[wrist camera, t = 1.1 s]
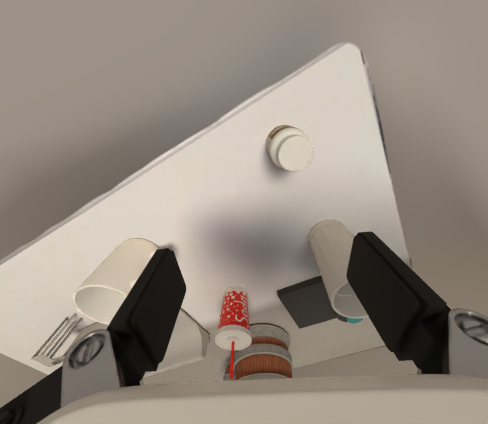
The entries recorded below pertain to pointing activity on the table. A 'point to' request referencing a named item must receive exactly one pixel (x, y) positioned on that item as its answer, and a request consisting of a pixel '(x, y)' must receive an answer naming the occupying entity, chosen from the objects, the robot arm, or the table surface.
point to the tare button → (353, 320)
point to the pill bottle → (289, 148)
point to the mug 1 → (113, 280)
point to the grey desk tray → (178, 351)
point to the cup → (336, 266)
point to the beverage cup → (234, 323)
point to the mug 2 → (263, 355)
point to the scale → (308, 302)
